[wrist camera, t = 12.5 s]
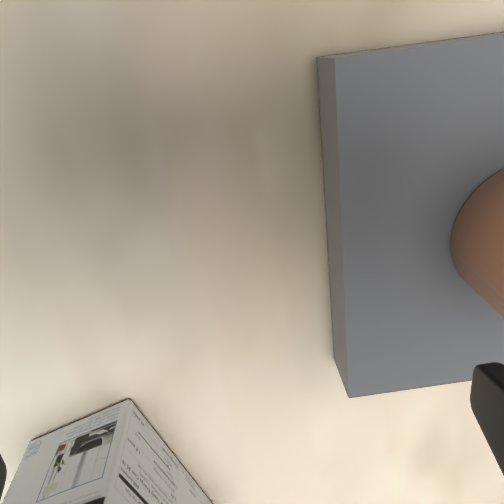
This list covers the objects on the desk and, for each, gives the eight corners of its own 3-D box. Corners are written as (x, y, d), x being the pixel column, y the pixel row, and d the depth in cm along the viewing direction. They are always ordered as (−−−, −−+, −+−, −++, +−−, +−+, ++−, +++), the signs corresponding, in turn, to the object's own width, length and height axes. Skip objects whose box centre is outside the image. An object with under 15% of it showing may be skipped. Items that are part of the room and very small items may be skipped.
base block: (334, 359, 24) (348, 398, 21) (316, 57, 18) (334, 58, 15) (607, 319, 24) (656, 353, 22) (683, 7, 18) (765, 0, 15)
